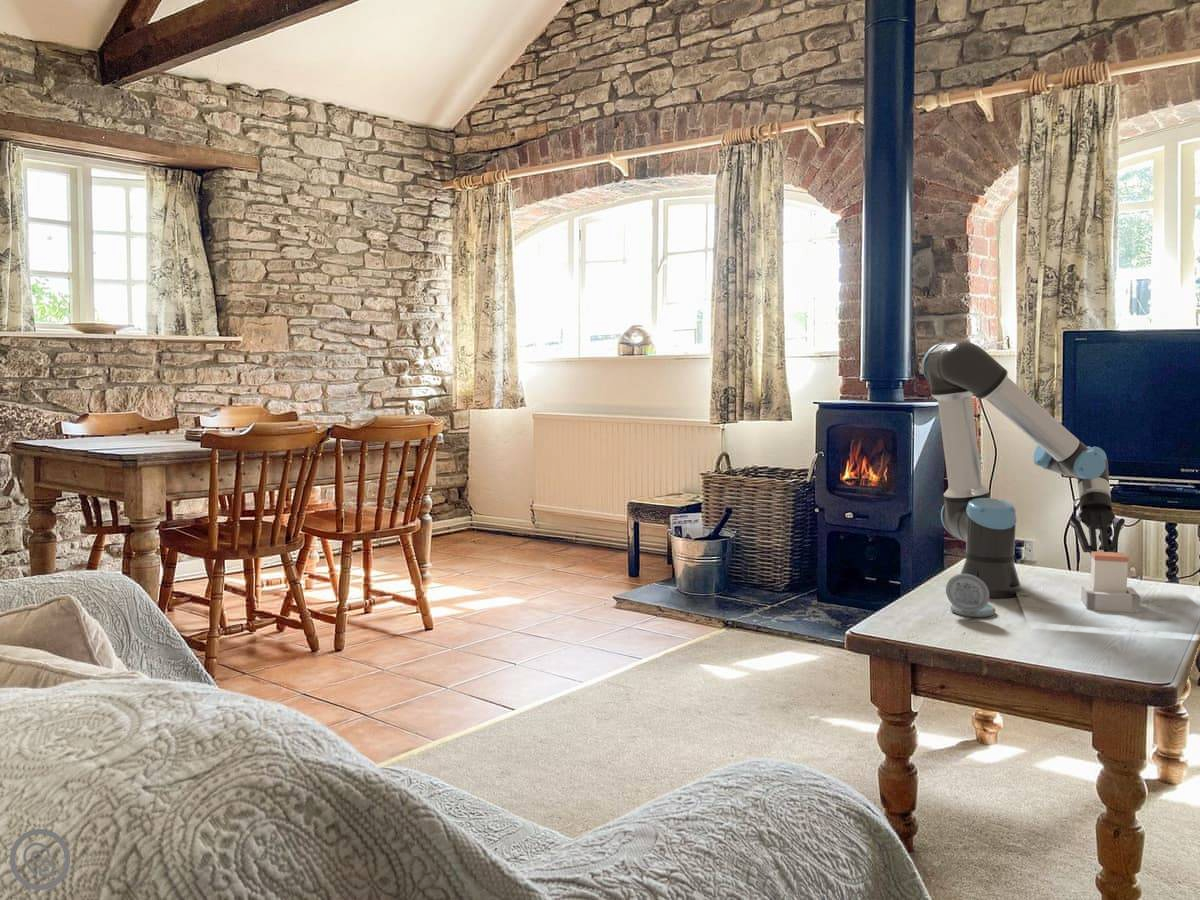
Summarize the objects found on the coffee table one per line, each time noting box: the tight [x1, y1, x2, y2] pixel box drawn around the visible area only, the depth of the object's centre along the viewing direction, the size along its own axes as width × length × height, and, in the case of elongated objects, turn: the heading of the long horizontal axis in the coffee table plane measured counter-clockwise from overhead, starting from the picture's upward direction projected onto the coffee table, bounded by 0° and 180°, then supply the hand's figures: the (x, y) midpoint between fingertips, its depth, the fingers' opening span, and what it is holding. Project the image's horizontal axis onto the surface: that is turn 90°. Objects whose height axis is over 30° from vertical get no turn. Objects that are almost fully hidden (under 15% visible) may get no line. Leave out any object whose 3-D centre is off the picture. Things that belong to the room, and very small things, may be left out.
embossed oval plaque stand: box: [945, 573, 996, 618], centre depth 235 cm, size 10×11×15 cm
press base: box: [1080, 583, 1141, 613], centre depth 239 cm, size 20×14×5 cm
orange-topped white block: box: [1089, 551, 1130, 594], centre depth 238 cm, size 5×7×12 cm
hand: (1101, 574), depth 247 cm, fingers closed
